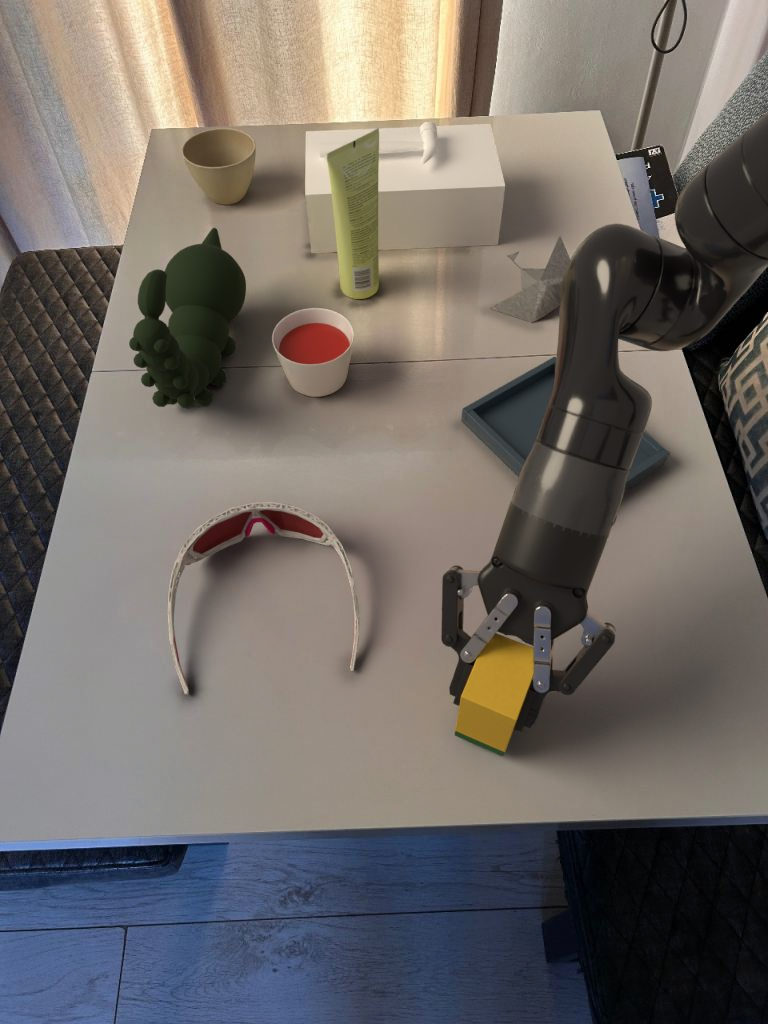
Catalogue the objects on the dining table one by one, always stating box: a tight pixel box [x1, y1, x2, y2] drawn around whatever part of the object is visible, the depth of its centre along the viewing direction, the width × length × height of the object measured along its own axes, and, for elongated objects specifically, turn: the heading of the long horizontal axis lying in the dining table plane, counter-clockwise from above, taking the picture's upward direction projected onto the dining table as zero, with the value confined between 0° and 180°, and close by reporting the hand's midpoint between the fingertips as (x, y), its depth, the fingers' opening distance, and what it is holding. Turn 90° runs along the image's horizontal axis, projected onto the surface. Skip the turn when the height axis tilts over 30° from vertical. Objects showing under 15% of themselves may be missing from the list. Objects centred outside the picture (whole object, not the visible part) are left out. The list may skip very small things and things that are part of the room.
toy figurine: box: [128, 227, 247, 409], centre depth 84 cm, size 9×19×25 cm
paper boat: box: [489, 234, 571, 324], centre depth 94 cm, size 12×6×9 cm
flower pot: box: [181, 127, 257, 206], centre depth 107 cm, size 10×10×7 cm
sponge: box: [454, 632, 534, 758], centre depth 62 cm, size 4×6×9 cm
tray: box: [460, 356, 671, 493], centre depth 82 cm, size 18×14×2 cm
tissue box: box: [304, 121, 506, 254], centre depth 102 cm, size 14×25×11 cm, turn 93°
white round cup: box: [271, 307, 355, 398], centre depth 87 cm, size 9×9×6 cm
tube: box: [327, 127, 380, 300], centre depth 90 cm, size 6×5×20 cm
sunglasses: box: [167, 501, 360, 696], centre depth 72 cm, size 17×17×5 cm
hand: (489, 713), depth 60 cm, fingers closed on sponge, 4 cm apart
